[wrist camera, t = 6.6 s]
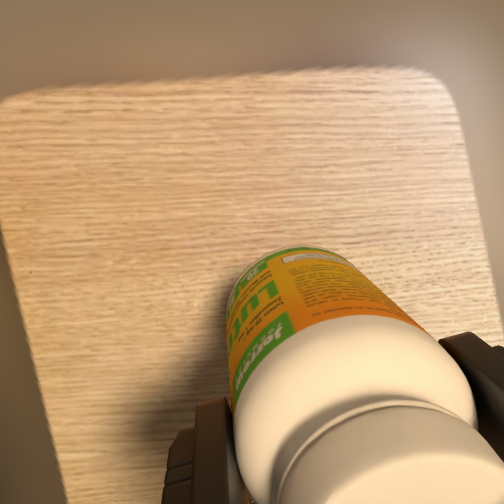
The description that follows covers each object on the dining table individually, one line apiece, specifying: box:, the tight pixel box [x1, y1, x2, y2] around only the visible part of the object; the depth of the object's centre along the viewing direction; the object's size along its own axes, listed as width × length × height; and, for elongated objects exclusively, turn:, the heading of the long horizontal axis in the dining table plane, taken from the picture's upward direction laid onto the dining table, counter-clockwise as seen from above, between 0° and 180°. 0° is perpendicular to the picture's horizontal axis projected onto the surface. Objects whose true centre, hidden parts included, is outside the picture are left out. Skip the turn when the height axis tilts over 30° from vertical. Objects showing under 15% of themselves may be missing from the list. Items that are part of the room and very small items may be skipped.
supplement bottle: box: [226, 245, 504, 504], centre depth 11 cm, size 5×5×10 cm
